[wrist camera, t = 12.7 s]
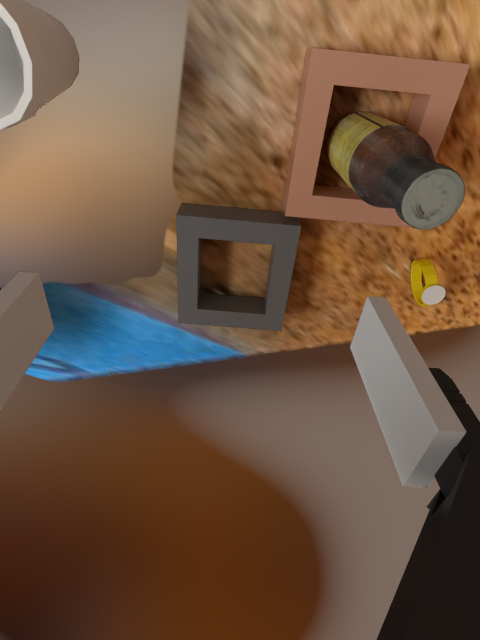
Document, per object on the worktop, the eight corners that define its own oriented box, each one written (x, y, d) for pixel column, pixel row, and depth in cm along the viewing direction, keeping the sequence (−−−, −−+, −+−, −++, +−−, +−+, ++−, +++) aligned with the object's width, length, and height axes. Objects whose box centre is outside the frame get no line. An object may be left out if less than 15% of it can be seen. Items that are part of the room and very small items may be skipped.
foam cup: (-8, -31, 32) (-132, -68, 22) (99, 11, 34) (31, -4, 23) (-2, 90, 38) (-98, 106, 27) (90, 122, 39) (32, 149, 29)
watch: (404, 254, 48) (422, 274, 43) (427, 250, 48) (447, 269, 42) (404, 294, 51) (420, 317, 46) (425, 290, 51) (444, 313, 46)
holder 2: (282, 203, 44) (285, 216, 41) (306, 47, 35) (311, 47, 32) (398, 214, 44) (409, 227, 41) (450, 62, 36) (470, 64, 32)
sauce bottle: (326, 177, 42) (373, 256, 26) (322, 116, 38) (372, 165, 23) (386, 164, 41) (472, 239, 25) (387, 101, 38) (488, 141, 22)
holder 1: (182, 306, 53) (178, 322, 50) (181, 202, 44) (176, 215, 41) (279, 313, 54) (281, 331, 50) (297, 213, 45) (301, 226, 41)
